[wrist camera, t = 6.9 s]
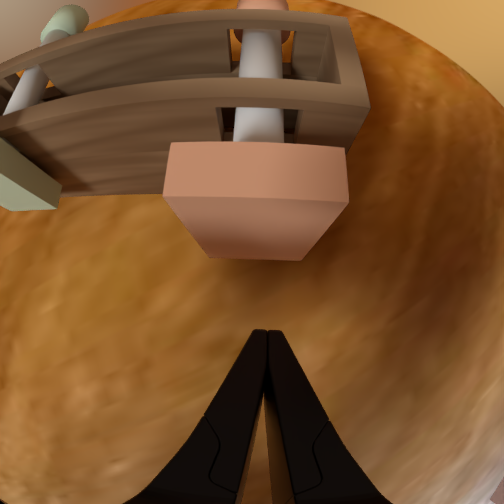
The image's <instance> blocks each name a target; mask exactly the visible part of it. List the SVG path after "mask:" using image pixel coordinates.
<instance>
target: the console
mask: <svg viewBox="0 0 504 504" xmlns="http://www.w3.org/2000/svg"><path fill="white" fill-rule="evenodd" d="M229 29H269V30H288V31H294V39H293V47H292V55H291V63H282V73H283V79H277V78H242V77H239V67H240V61H232V54H231V42H230V30H229ZM37 64H38V65H39V66H40V67H41V69H42V70H43V71H44V73H45V74H46V75H47V77H48V78H49V79H50V80H51V82H52V83H53V84H54V86H53V87H49V88H46V89H45V90H44V92H43V94H42V96H41V99H40V101H39V103H38V104H37V105H34V106H30V107H27V108H24V109H21V110H18V111H14V112H11V113H8V114H6V115H3V114H4V112H5V110H6V107H7V105H8V103H9V101H10V99H11V97H12V95H13V93H14V91H15V89H16V87H17V85H18V83H19V81H20V78H19V77H18V75H17V74H16V73H17V72H19V71H21V70H24V69H27V68H29V67H32V66H34V65H37ZM236 107H251V108H279V109H283V113H284V128H285V129H295V130H294V134H284V143H291V144H306V145H319V146H331V147H341V148H345V156H346V154H347V152H348V150H349V149H350V147H351V145H352V143H353V141H354V139H355V137H356V135H357V134H358V132H359V130H360V128H361V126H362V124H363V122H364V120H365V118H366V117H367V115H368V113H369V111H370V109H371V106H370V101H369V97H368V92H367V88H366V83H365V79H364V75H363V71H362V67H361V63H360V60H359V56H358V52H357V49H356V45H355V42H354V38H353V35H352V32H351V28H350V25H349V22H348V19H347V18H346V17H340V16H334V15H327V14H319V13H311V12H301V11H289V10H271V9H220V10H203V11H191V12H181V13H172V14H165V15H158V16H151V17H145V18H140V19H134V20H129V21H125V22H120V23H116V24H111V25H107V26H103V27H99V28H95V29H92V30H88V31H85V32H81V33H78V34H75V35H71V36H68V37H65V38H62V39H59V40H56V41H54V42H51V43H48V44H45V45H43V46H40V47H38V48H35V49H33V50H30V51H28V52H26V53H23V54H21V55H18V56H16V57H14V58H12V59H10V60H7V61H6V62H3V63H1V64H0V137H1V138H5V139H6V140H7V141H8V142H10V143H11V144H12V145H13V146H15V147H16V148H17V149H18V150H20V152H19V153H20V154H22V155H23V156H24V157H25V158H27V159H28V160H29V161H31V162H32V163H33V164H34V165H36V166H37V167H38V168H40V169H41V170H42V171H44V172H45V173H46V174H47V175H49V176H50V177H51V178H53V179H54V180H55V181H57V182H58V183H59V184H61V185H62V189H61V194H60V197H74V196H94V195H123V194H163V189H164V182H165V176H166V169H167V163H168V157H169V151H170V145H171V143H172V142H233V138H234V132H225V131H224V127H234V125H235V113H236Z"/></svg>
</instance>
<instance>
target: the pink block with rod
mask: <svg viewBox="0 0 504 504" xmlns="http://www.w3.org/2000/svg"><path fill="white" fill-rule="evenodd" d="M237 9H271V10H289V8H288V4H287V2H286V0H239V1H238V4H237ZM234 34H235V36H236V38H237V39H238V40H239V41H240V42H241V43H242V46H241V56H240V67H239V77H242V78H277V79H283V73H282V44H283V43H284V42H285V41H286V40H287V39H288V38H289V35H290V31H288V30H269V29H234ZM163 198H164V199H165V200H166V202H167V203H168V204H169V206H170V207H171V208H172V210H173V211H174V212H175V214H176V215H177V216H178V218H179V219H180V220H181V222H182V223H183V224H184V226H185V227H186V228H187V229H188V231H189V232H190V233H191V235H192V236H193V237H194V239H195V240H196V241H197V242H198V244H199V245H200V246H201V248H202V249H203V250H204V251H205V253H206V254H207V255H208V257H209V258H232V259H261V260H292V261H301V260H302V259H303V258H304V257H305V255H306V254H307V253H308V252H309V251H310V249H311V248H312V247H313V246H314V245H315V244H316V242H317V241H318V240H319V239H320V238H321V236H322V235H323V234H324V233H325V231H326V230H327V229H328V228H329V227H330V225H331V224H332V223H333V222H334V221H335V219H336V218H337V217H338V216H339V214H340V213H341V212H342V211H343V210H344V208H345V207H346V206H347V205H348V203H349V193H348V180H347V168H346V158H345V148H341V147H331V146H319V145H306V144H291V143H284V113H283V109H279V108H251V107H236V113H235V125H234V138H233V142H172V143H171V145H170V151H169V157H168V163H167V169H166V176H165V182H164V189H163Z"/></svg>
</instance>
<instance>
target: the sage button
mask: <svg viewBox="0 0 504 504" xmlns="http://www.w3.org/2000/svg"><path fill="white" fill-rule="evenodd" d="M88 22H89V16H88V14H87V12H86V10H84V9H83V8H81V7H80V6H77V5H66V6H63V7H62V8H60V9H59V10H58V11H57V12H56V13H55V15H54V16H53V17H52V19H51V20H50V22H49V23H48V24H47V26H46V27H45V28H44V30H43V31H42V33H41V42H42V43H41V45H40V46H43V45H45V44H48V43H51V42H54V41H56V40H59V39H62V38H65V37H68V36H71V35H75V34H78V33H81V32H83V31H84V29H85V28H86V26H87V24H88ZM40 46H39V47H40ZM49 80H50V79H49V78H48V77H47V75H46V74H45V73H44V71H43V70H42V69H41V67H40V66H39V65H38V64H37V65H34V66H32V67H29V68H27V69H26V70H25V72H24V74H23V75H22V77H21V79H20V81H19V83H18V85H17V87H16V89H15V91H14V93H13V95H12V97H11V99H10V101H9V103H8V105H7V107H6V110H5V112H4V114H3V115H6V114H8V113H11V112H14V111H18V110H21V109H24V108H27V107H30V106H34V105H37V104H38V103H39V101H40V99H41V96H42V94H43V92H44V90H45V88H46V86H47V84H48V82H49ZM19 152H20V150H18V149H17V148H16V147H15V146H13V145H12V144H11V143H10V142H8V141H7V140H6V139H5V138H1V137H0V206H2V207H4V208H6V209H8V210H10V211H25V210H45V209H57V208H58V203H59V198H60V194H61V189H62V185H61V184H59V183H58V182H57V181H55V180H54V179H53V178H51V177H50V176H49V175H47V174H46V173H45V172H44V171H42V170H41V169H40V168H38V167H37V166H36V165H34V164H33V163H32V162H31V161H29V160H28V159H27V158H25V157H24V156H23V155H22V154H20V153H19Z"/></svg>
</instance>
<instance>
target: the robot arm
mask: <svg viewBox="0 0 504 504" xmlns="http://www.w3.org/2000/svg"><path fill="white" fill-rule="evenodd" d="M263 393H264V410H265V422H266V433H267V445H268V456H269V468H270V479H271V491H272V502H273V504H393V503H391V502H390V501H389V500H387V499H386V498H385V497H384V496H383V495H382V494H381V493H380V492H379V491H378V490H377V488H376V487H375V486H374V485H373V483H372V482H371V481H370V479H369V478H368V477H367V476H366V474H365V473H364V472H363V470H362V469H361V468H360V466H359V465H358V464H357V462H356V461H355V460H354V458H353V457H352V456H351V454H350V453H349V451H348V450H347V448H346V447H345V445H344V444H343V442H342V441H341V439H340V437H339V435H338V434H337V432H336V430H335V429H334V427H333V425H332V423H331V421H328V420H329V418H328V416H327V414H326V412H325V410H324V409H323V407H322V405H321V403H320V401H319V399H318V397H317V396H316V394H315V392H314V390H313V388H312V386H311V384H310V383H309V381H308V379H307V377H306V375H305V373H304V371H303V369H302V368H301V366H300V364H299V362H298V360H297V358H296V356H295V355H294V353H293V351H292V349H291V347H290V345H289V343H288V341H287V340H286V338H285V336H284V334H283V332H282V331H280V330H269V331H268V332H267V330H263V329H254V330H253V331H252V333H251V335H250V336H249V338H248V340H247V342H246V343H245V345H244V347H243V349H242V350H241V352H240V354H239V356H238V357H237V359H236V361H235V362H234V364H233V366H232V368H231V369H230V371H229V373H228V374H227V376H226V378H225V380H224V381H223V383H222V385H221V386H220V388H219V390H218V391H217V393H216V395H215V396H214V398H213V400H212V401H211V403H210V405H209V406H208V408H207V410H206V411H205V413H204V416H202V418H201V419H200V421H199V423H198V424H197V426H196V427H195V429H194V430H193V432H192V433H191V435H190V436H189V438H188V439H187V441H186V442H185V443H184V444H183V446H182V447H181V448H180V449H179V451H178V452H177V453H176V454H175V456H174V457H173V458H172V459H171V460H170V461H169V462H168V464H167V465H166V466H165V467H164V468H163V469H162V470H161V472H160V473H159V474H158V475H157V476H156V477H155V478H154V479H153V480H152V481H151V483H150V484H149V485H148V486H147V487H145V488H144V489H143V490H142V491H141V492H140V493H139V494H137V495H136V496H134V497H133V498H131V499H130V500H128V501H126V502H125V503H123V504H241V501H242V497H243V492H244V488H245V483H246V479H247V474H248V469H249V465H250V460H251V455H252V451H253V446H254V441H255V436H256V431H257V426H258V421H259V416H260V411H261V406H262V400H263ZM0 504H7V503H6V502H4V501H3V500H1V499H0Z"/></svg>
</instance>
